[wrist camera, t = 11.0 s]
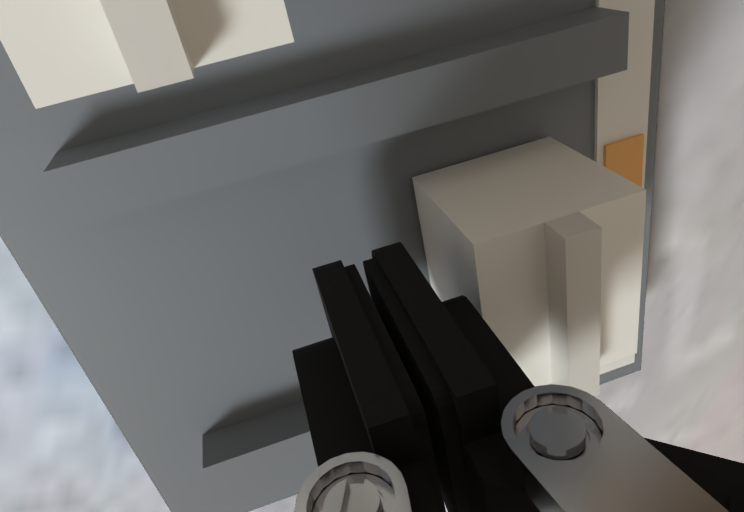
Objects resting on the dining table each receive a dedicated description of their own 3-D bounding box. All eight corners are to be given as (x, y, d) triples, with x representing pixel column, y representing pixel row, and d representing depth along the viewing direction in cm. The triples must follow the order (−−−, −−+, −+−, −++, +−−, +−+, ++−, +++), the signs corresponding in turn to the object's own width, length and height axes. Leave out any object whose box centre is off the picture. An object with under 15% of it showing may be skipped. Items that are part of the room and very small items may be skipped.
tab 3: (412, 177, 11) (490, 263, 8) (549, 136, 12) (672, 204, 9) (436, 315, 13) (508, 427, 10) (554, 276, 14) (657, 372, 10)
